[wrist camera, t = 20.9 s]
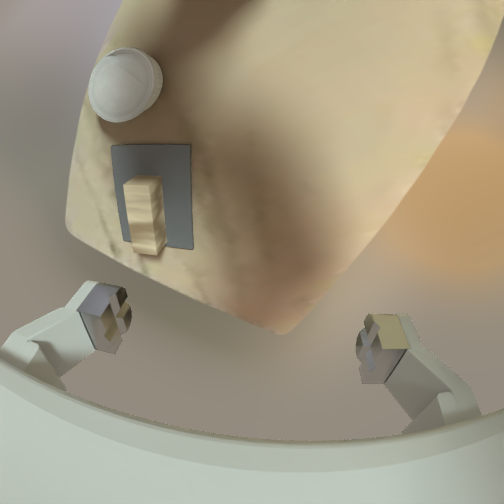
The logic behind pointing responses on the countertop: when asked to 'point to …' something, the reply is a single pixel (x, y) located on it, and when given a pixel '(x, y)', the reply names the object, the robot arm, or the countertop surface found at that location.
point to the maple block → (146, 213)
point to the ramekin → (124, 84)
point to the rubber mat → (173, 185)
